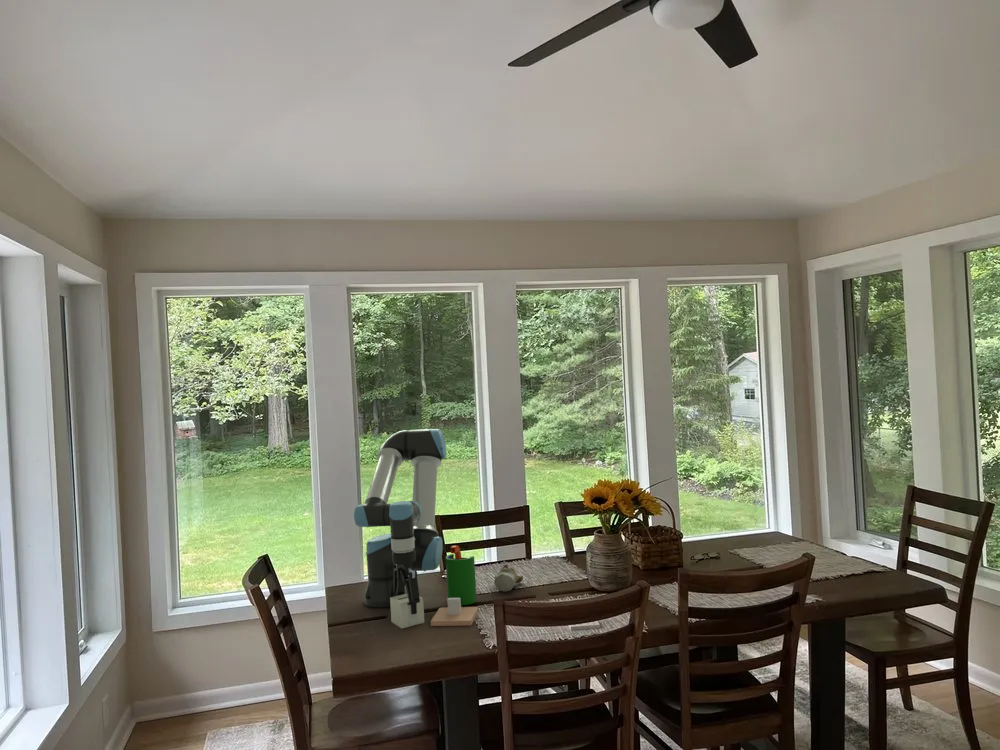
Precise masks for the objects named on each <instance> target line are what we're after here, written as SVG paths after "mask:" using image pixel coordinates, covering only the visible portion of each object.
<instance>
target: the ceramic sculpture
mask: <svg viewBox="0 0 1000 750" xmlns="http://www.w3.org/2000/svg"><path fill="white" fill-rule="evenodd" d="M523 580H524V575H520V576H519V575H518V574H517V572H516V570H515V568H513V567H510V566H509V565H507V564H505V565H503V566H502V567H501V568H500V569H499V571H498V572H497V574H496V575H495V576H494V581H493V583H494V586H495V588H496V589H497V590H498V591H500V592H505V593H506V592H510V591H512V589H513V588H514V587H515V584H516V585H517V584H520V583H521V582H523Z"/></svg>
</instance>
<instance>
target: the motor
mask: <svg viewBox="0 0 1000 750" xmlns="http://www.w3.org/2000/svg"><path fill="white" fill-rule="evenodd" d="M475 564H476V563H475V556H474V555H472V556H469V557H462V552H461V548H460V545H452V546H450V554H448V555H446V556H445V567H446V568H445V572H446V573H445V575H446V586H447V587H446V592H447V599H448V598H460V601H461V606H467V605H472V604H475V603H476V602H477V601H478V600H477V599H478V598H477V587H476V586H477V585H476V584H477V583H476V568H475V567H476V566H475Z"/></svg>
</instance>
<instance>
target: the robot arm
mask: <svg viewBox="0 0 1000 750" xmlns="http://www.w3.org/2000/svg"><path fill="white" fill-rule="evenodd" d="M376 458H377V465H376V467H375V470H374V471H375V472H374V473H373V478H372V480H371V483H370V486H369V490H368V492H367V495H366V499H365V501H364V503H362V504H359V505H356V507H355V508H354V511H353V519H354V523H355V525H356V526H357V527H360V528H372V527H373V528H374V527H375V528H376V527H390V533H383V534H379V535H376V536H374V537H372V538H369V539H368V540H367V542H366V543H365V544H366V545H365V546H366V552H365V555H366V565H367V566H366V567H367V585H366V589H365V592H364V598H363V599H364V600H363V601H364V605H365V606H367V607H370V608H388V607H390V608H391V606H390V597H394V596H399V595H403V594H407V595H408V600H409V603H407V605H408V613H409V625H412V624H416V623H418V617H417V603H419V602H420V597H421V596H420V591H419V590H420V589H419V584H418V582H419V581H418V572H427V571H434V570H436V569H438V567H439V566H440V564H441V560H442V556H443V549H444V548H443V545H444V544H443V538H442V536H439V531H437V530H436V529H435V524H436V523H435V521H436V499H437V482H438V481H437V480H438V479H437V478H438V468H439V467H440V466H441V465H442V461H443V460H445V459H446V458H447V446H446V439H445V435H444V432H443V431H442V430H441V429H439V428H425V429H403V430H400V431H398V432H395V433H393V434H392V435H391V436H389V437H388V438H387V439H386V440H385V441H384V442H383V444H381V446H380V447H379V450H378V453H377V457H376ZM403 461H404V462H405V461H410V464H411V465H412V466H413V468H414V469H413V470H414V471H413V484H412V485H413V486H412V499H411V500H402V501H395V502H392V503H389V499H390V495H391V491H392V489H393V486H394V481H395V479H396V474H397V472H398V468H399V467H400V466H401V465H402V463H403ZM419 596H420V597H419Z"/></svg>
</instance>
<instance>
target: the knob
mask: <svg viewBox="0 0 1000 750" xmlns="http://www.w3.org/2000/svg"><path fill="white" fill-rule="evenodd" d="M419 597H420V602H419V603H417V617H418V623H416V624H412V625H409V613H408V605H407V603H409V600H408V595H407V594H403V595H399V596H394V597H390V618H391V619H390V620H391V624H394V625H396V626H397V627H399V628H400V629H405V628H409V627H413V626H417V625H421V624H425V611H424V598H423V597H422V596H420V595H419Z"/></svg>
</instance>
